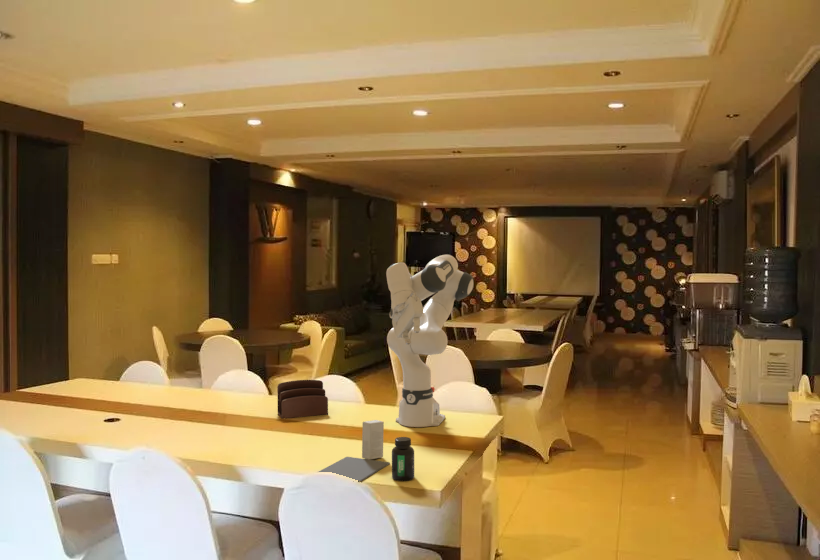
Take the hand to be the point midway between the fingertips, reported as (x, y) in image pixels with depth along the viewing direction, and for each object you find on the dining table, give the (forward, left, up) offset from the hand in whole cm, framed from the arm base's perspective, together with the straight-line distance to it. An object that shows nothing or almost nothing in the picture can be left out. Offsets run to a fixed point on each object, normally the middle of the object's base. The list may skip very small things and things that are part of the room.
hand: (412, 338), depth 244 cm
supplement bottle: (+31, +11, -39) cm, 51 cm away
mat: (+30, -7, -39) cm, 50 cm away
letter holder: (-28, -64, -39) cm, 80 cm away
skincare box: (+18, -7, -39) cm, 43 cm away
